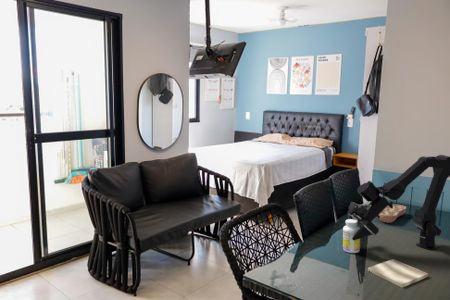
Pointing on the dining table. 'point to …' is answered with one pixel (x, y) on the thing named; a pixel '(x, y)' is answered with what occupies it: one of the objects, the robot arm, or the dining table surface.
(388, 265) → the birch board
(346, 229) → the supplement bottle
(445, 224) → the dining table surface
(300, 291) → the dining table surface
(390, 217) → the anatomical model
